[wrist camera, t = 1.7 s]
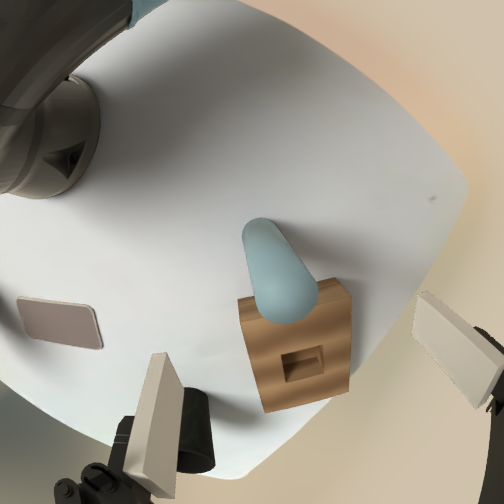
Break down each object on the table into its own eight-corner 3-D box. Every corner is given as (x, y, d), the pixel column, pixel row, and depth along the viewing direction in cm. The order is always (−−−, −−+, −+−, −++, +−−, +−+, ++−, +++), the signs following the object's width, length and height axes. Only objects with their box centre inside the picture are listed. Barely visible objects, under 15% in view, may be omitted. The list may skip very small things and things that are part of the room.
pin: (238, 222, 29) (250, 275, 16) (275, 214, 30) (315, 261, 16) (246, 256, 31) (261, 329, 18) (281, 249, 31) (320, 316, 18)
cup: (203, 378, 36) (200, 446, 25) (222, 408, 39) (224, 470, 27) (157, 387, 36) (143, 451, 25) (179, 415, 39) (173, 475, 28)
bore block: (237, 299, 32) (239, 322, 28) (334, 277, 33) (350, 296, 28) (260, 388, 38) (264, 413, 33) (337, 369, 38) (348, 391, 33)
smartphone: (103, 351, 33) (27, 337, 31) (104, 347, 34) (30, 334, 32) (91, 306, 31) (14, 297, 29) (93, 302, 31) (17, 294, 30)
